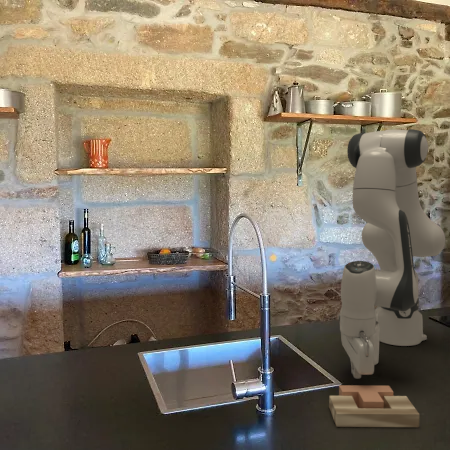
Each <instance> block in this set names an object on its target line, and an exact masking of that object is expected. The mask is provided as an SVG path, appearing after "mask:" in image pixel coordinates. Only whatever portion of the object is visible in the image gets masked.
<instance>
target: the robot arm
mask: <svg viewBox="0 0 450 450" xmlns="http://www.w3.org/2000/svg"><path fill="white" fill-rule="evenodd" d="M346 152H347V159H348V162H349V164H350V165H351V166H352V167H353V168H355V172H354V177H353V185H352V209H353V210H354V213H355V214H356V215H357V217H359V218H360V219H361V220H362V221H364V222H366V223H365V225H364V226H363V228H362V230H361V241H362V244H363V245H364V247H365V248H366V249H367V250H368V251H369V252H370V253H371V254H372V255H373V256H374V258H375V259H376V262H377V263H378V266H379V269H375V265H374V264H373V263H371V262H369V261H365V260H353V261H350V262H348V263H346V264H345V265H344V268H343V272H342V278H341V284H340V285H341V286H340V300H341V308H340V313H339V314H338V322H339V331H340V337H341V339H340V340H341V345H342V347H343V348H344V350H345V352H346V354H347V355H348V358H349V360H350V365H351V367H350V368H351V374H352V376H353V378H354V379H361V378H362V376H363V375H365V376H366V375H367V376H369V375H373V374H374V373H375V365H374V348H373V344H372V343H371V341H370V340H369V339H370V336H372V335H374V334H375V324H376V321H377V322H378V325H379V328H380V335H379V342H381V343H383V344H387V345H393V346H399V347H400V346H401V347H407V346H408V347H409V346H416V345H419V344H421V342H422V341H425V340H426V341H427V340H428V338H427V335H426V334H424V332H423V330H424V328H423V327H424V326H423V325H424V324H423V322H424V321H423V314H422V313H421V312H420V311H419V309H420V308H419V307H420V306H419V305H420V300H419V275H418V273H417V271H416V270H415V266H414V265H415V262H414V257H416V258H417V257H419V258H427V257H429V258H430V257H436V256H439V254H440V253H441V252H442V251H443V249H444V248H445V244H446V234H445V232H444V230H443V229H442V227H441V226H439V224H436V223H435V222H434V221H433V220H431V218H429V217H428V215H427V214H426V212H425V211H424V209H423V208H422V206H421V202H420V201H421V200H420V197H419V189H418V175H417V167H419V166H421V165H423V163H425V161H426V159H427V155H428V152H429V143H428V139H427V137H426V135H425V133H424V132H423V131H421V130H418V129H412V128H411V129H385V130H377V131H376V130H375V131H370V132H365V131H363V132H359V133H356V134H353V135H352V137H351V138H350V139H349V141H348V142H347V151H346ZM375 307H376V308H375Z"/></svg>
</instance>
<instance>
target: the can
mask: <svg viewBox="0 0 450 450" xmlns="http://www.w3.org/2000/svg"><path fill="white" fill-rule="evenodd" d="M379 335H380V328H379V325H378V322H377V321H376V324H375V334H374V335H372V336H370V339H369V340H370V341H371V343H372V344H373V348H374V366H376V365H377V364H378V363H379V358H380V357H379V356H380V355H379V354H380V341H379Z"/></svg>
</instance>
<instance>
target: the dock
mask: <svg viewBox="0 0 450 450" xmlns="http://www.w3.org/2000/svg"><path fill="white" fill-rule="evenodd" d="M328 401H329V403H328V407H329V411H330V413H331V416H332V419H333V421H334V423H335V427H336V428H338V427H340V428H344V427H345V428H348V427H349V428H350V427H351V428H353V427H354V428H356V427H357V428H420V414H421V413H419V412H418V410H417V408H415V406H414V405H413V403H412V402H411V401H410V399H409V398H408V396H407V395H393V396H384V408H358V407H357V405H356V403H355V401H354V399H353V397H352V396H339V395H329V399H328Z"/></svg>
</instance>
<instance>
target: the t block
mask: <svg viewBox="0 0 450 450" xmlns="http://www.w3.org/2000/svg"><path fill="white" fill-rule="evenodd" d="M338 396H352V397H353V399H354V401H355V403H356V405H357V407H358V408H384V396H394V391H393V389H392V388H391V386H390V385H357V384H356V385H353V384H351V385H350V384H348V385H342V384H341V385H338Z"/></svg>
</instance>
